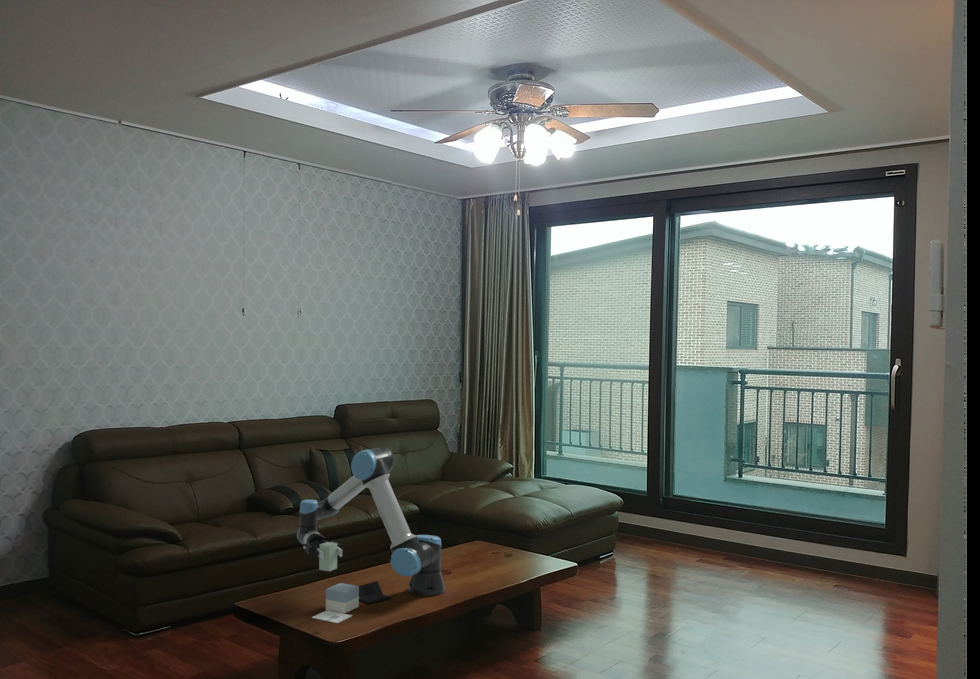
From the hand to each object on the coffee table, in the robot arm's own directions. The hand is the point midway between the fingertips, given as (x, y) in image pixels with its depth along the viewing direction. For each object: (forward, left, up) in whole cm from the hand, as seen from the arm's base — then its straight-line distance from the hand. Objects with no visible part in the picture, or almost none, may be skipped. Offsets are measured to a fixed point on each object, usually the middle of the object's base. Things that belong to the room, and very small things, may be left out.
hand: (332, 554), depth 307 cm
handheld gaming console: (-10, -14, -20) cm, 27 cm away
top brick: (+4, -3, -7) cm, 8 cm away
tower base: (-6, +1, -20) cm, 21 cm away
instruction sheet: (-9, +11, -20) cm, 25 cm away
